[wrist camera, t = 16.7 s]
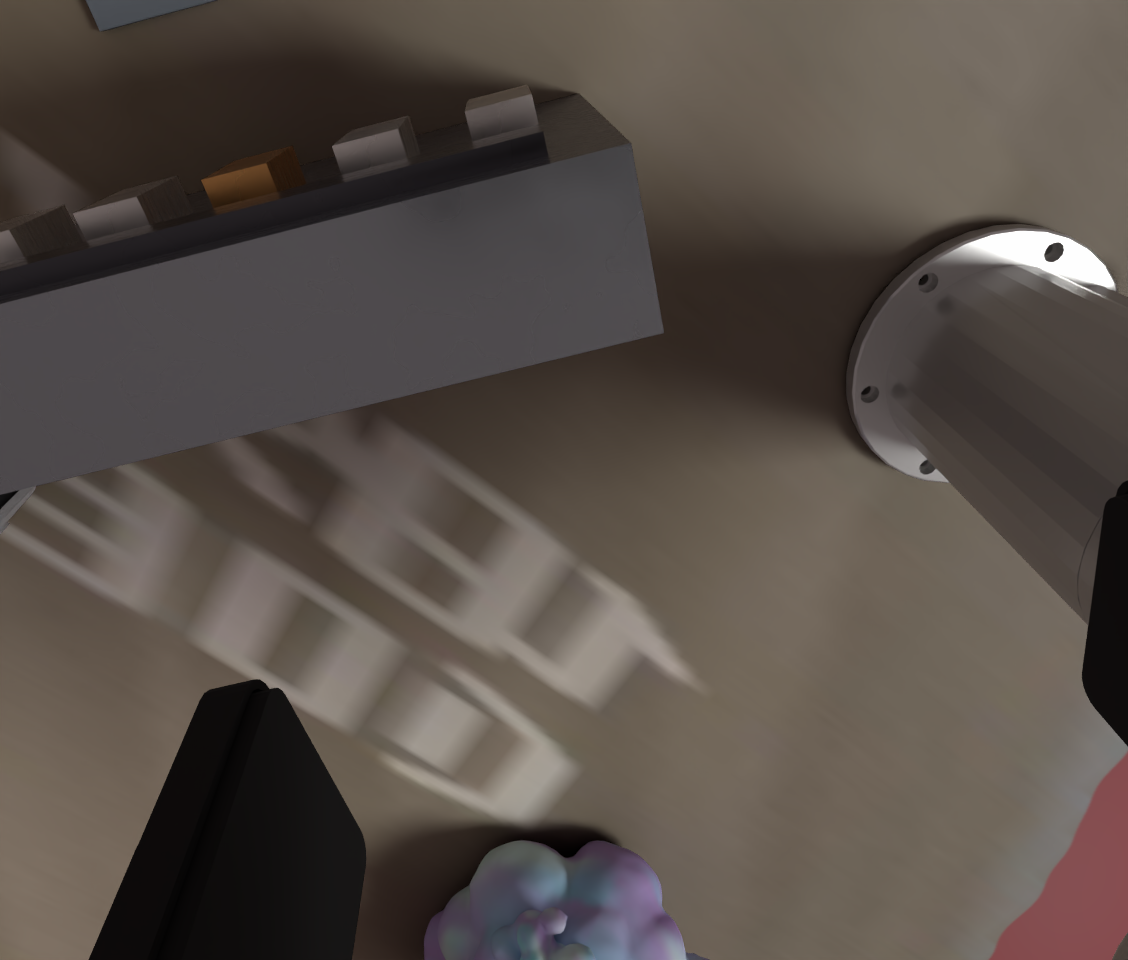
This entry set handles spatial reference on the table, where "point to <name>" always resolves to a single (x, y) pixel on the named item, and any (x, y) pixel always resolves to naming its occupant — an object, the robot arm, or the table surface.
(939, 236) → the table surface
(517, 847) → the grape bunch
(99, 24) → the mat
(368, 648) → the table surface
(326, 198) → the breaker box
